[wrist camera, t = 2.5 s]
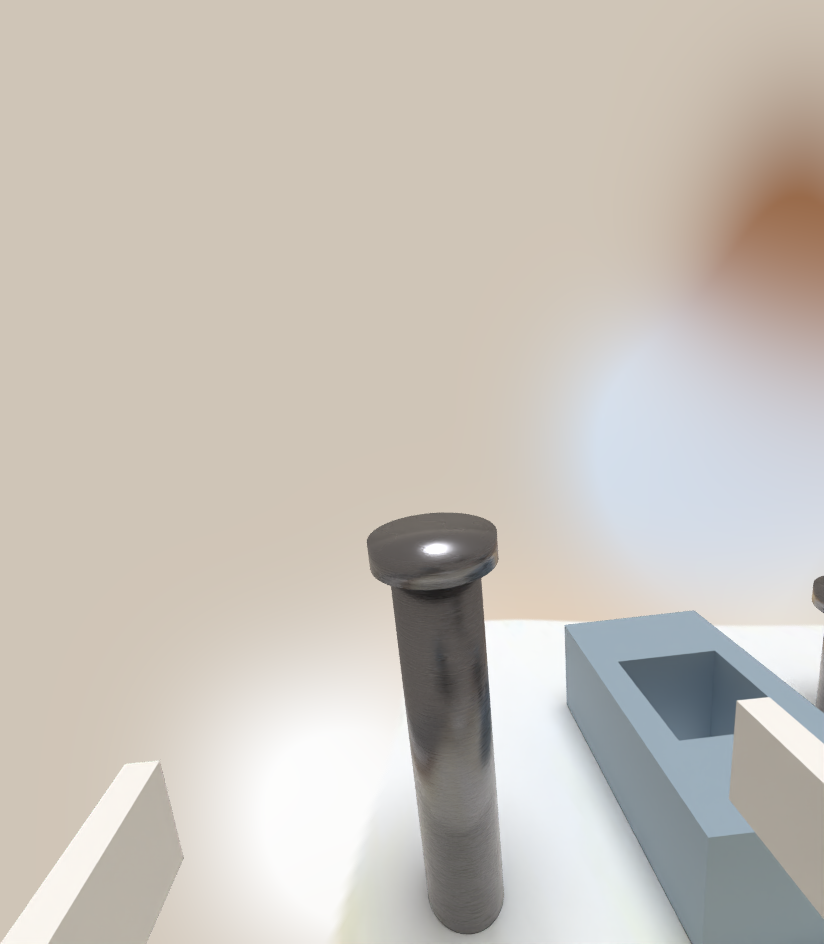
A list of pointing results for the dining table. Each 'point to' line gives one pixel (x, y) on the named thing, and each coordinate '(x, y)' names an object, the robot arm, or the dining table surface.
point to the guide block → (687, 767)
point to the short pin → (820, 598)
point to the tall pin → (447, 704)
